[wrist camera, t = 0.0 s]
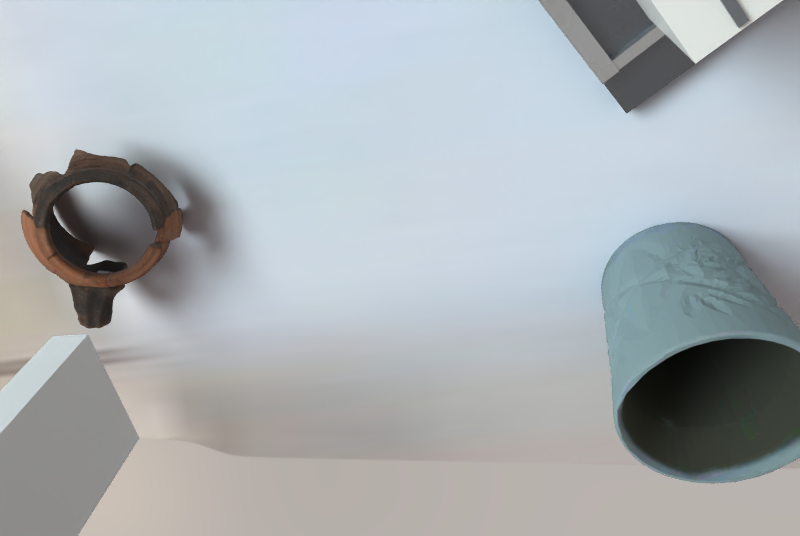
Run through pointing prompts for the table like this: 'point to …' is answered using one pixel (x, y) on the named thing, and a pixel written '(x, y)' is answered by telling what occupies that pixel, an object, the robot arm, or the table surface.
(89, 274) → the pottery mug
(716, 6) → the white fader
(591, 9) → the grey board
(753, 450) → the green tapered cup
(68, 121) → the table surface
